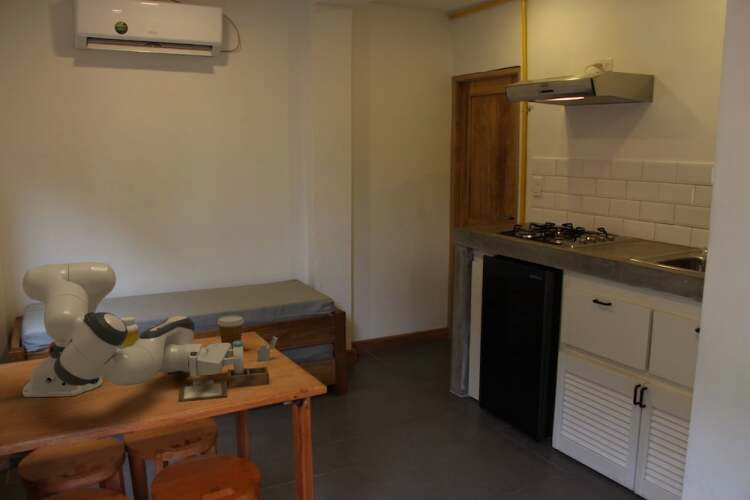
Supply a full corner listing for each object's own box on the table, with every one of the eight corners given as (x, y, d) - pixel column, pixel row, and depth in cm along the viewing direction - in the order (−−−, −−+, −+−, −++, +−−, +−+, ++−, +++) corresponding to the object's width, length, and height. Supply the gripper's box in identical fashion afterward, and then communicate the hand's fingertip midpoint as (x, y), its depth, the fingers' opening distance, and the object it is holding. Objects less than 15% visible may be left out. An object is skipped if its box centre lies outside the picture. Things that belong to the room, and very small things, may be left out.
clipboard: (178, 401, 188) (178, 396, 187) (180, 387, 199) (179, 382, 199) (227, 397, 191) (226, 392, 191) (225, 383, 203) (225, 378, 202)
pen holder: (228, 387, 199) (228, 376, 198) (228, 380, 205) (227, 369, 204) (269, 384, 202) (268, 373, 201) (267, 376, 208) (266, 366, 208)
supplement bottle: (143, 351, 233) (141, 317, 231) (127, 356, 228) (125, 322, 225) (131, 348, 237) (129, 315, 235) (116, 353, 231) (113, 319, 229)
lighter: (258, 361, 223) (257, 339, 222) (257, 360, 224) (256, 338, 223) (278, 358, 226) (277, 337, 224) (277, 357, 227) (276, 335, 226)
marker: (234, 385, 201) (232, 344, 199) (234, 381, 204) (232, 341, 202) (244, 384, 202) (243, 343, 199) (243, 380, 205) (242, 340, 202)
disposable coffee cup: (224, 345, 241) (222, 314, 239) (248, 346, 239) (247, 315, 237) (214, 353, 231) (213, 321, 229) (239, 354, 230) (238, 322, 228)
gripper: (204, 356, 211) (246, 356, 212) (189, 378, 191) (236, 378, 192) (203, 338, 210) (245, 337, 211) (188, 358, 190) (235, 358, 191)
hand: (241, 357), depth 201 cm, fingers open, 5 cm apart
